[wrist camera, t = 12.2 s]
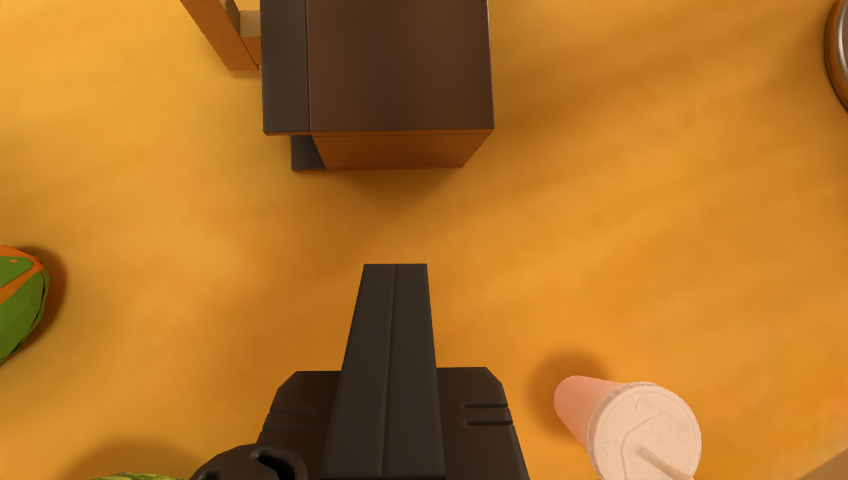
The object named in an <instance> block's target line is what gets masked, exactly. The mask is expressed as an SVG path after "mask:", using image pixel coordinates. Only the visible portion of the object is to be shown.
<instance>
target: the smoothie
mask: <svg viewBox="0 0 848 480" xmlns="http://www.w3.org/2000/svg"><path fill="white" fill-rule="evenodd" d="M553 405H554V409H555V412H556V414H557V415H558V417H559V418H560V419H561V421H562V422H563V423H564V424H565V426H566V427H567V428H568V430H569V431H570V432H571V433H572V435H573V436H574V437H575V439H576V440H577V441H578V442H579V444H580V445H581V446H582V447H583V449H584V450H585V451H586V453H587V454H588V455H589V458H590V462H591V465H592V467H593V468H594V470H595V471H596V473H597V475H598V476H599V478H600V479H601V480H695V479H694V478H692V477H693V475H694V473H695V472H696V469H697V467H698V464H699V461H700V456H701V449H702V440H701V432H700V428H699V425H698V422H697V419H696V417H695V415H694V413H693V412H692V410H691V409H690V407H689V406H688V405H687V404H686V403H685V402H684V401H683V400H682V399H681V398H680V397H679V396H677V395H676V394H674V393H673V392H671V391H669V390H667V389H665V388H663V387H661V386H659V385H657V384H653V383H648V382H643V381H642V382H629V383H626V384H624V383H619V382H613V381H607V380H602V379H596V378H591V377H585V376H579V375H576V376H570V377H568V378H566V379H564V380H563V381H562V382H561V383H560V384H559V385H558V386H557V388H556V390H555V393H554V397H553Z"/></svg>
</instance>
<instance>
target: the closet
mask: <svg viewBox="0 0 848 480" xmlns="http://www.w3.org/2000/svg"><path fill="white" fill-rule="evenodd" d="M260 21H261V61H262V101H263V132H264V133H265V135H267V136H275V135H291V168H292V171H293V172H296V171H336V170H379V169H422V168H462V167H463V166H464V165H465V164H466V162H467V161H468V160H469V159H470V158H471V156H472V155H473V154H474V153H475V152H476V151H477V149H478V148H479V147H480V146H481V145H482V143H483V142H484V141H485V140H486V139H487V137H488V136H489V135H490V134H491V132H492V131H493V130H494V129H495V122H494V105H493V87H492V69H491V51H490V33H489V15H488V0H260Z"/></svg>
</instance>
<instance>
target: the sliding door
mask: <svg viewBox="0 0 848 480" xmlns="http://www.w3.org/2000/svg"><path fill="white" fill-rule="evenodd" d="M180 1H181V3H182V4H183V5H184V7H185V8H186V10H187V11H188V13H189V14H190V15H191V17H192V18H193V20H194V21H195V23H196V24H197V25H198V27H199V28H200V30H201V31H202V33H203V34H204V35H205V37H206V38H207V40H208V41H209V43H210V44H211V45H212V47H213V48H214V50H215V51H216V53H217V54H218V55H219V57H220V58H221V60H222V61H223V63H224V64H225V65H226V67H227V68H228V70H258V69H259V67H258V64H262V61H261V21H260V11H240V12H239V10H238V8H237V6H236V4H235V2H234V0H180Z"/></svg>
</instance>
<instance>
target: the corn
mask: <svg viewBox="0 0 848 480" xmlns="http://www.w3.org/2000/svg"><path fill="white" fill-rule="evenodd" d="M50 280H51V277H50V275H49V274H48V272H47V270H46V268H43V267H42V262H41V261H40V260H39V257H36V256H35V255H34V254H31V253H27V252H24V251H20V250H17V249H14V248H11V247H8V246H0V363H2V362H3V361H4V360H6V359H7V358H8V357H9V356H10V355H12V354H13V353H14V352H15V351H16V350H17V349H18V348H19V346H20V345H21V344H22V343H23V341H24V340H25V339H26V338H27V336H28V335H29V334H30V333H31V331H32V330H33V329H34V328H35V327H36V325H37V324H38V323H39V322H40V320H41V319H42V316H43V312H44V307H45V303H46V298H47V294H48V289H49V285H50ZM44 292H45V295H44ZM43 295H44V298H43ZM42 299H43V300H42ZM41 301H42V302H41Z"/></svg>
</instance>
